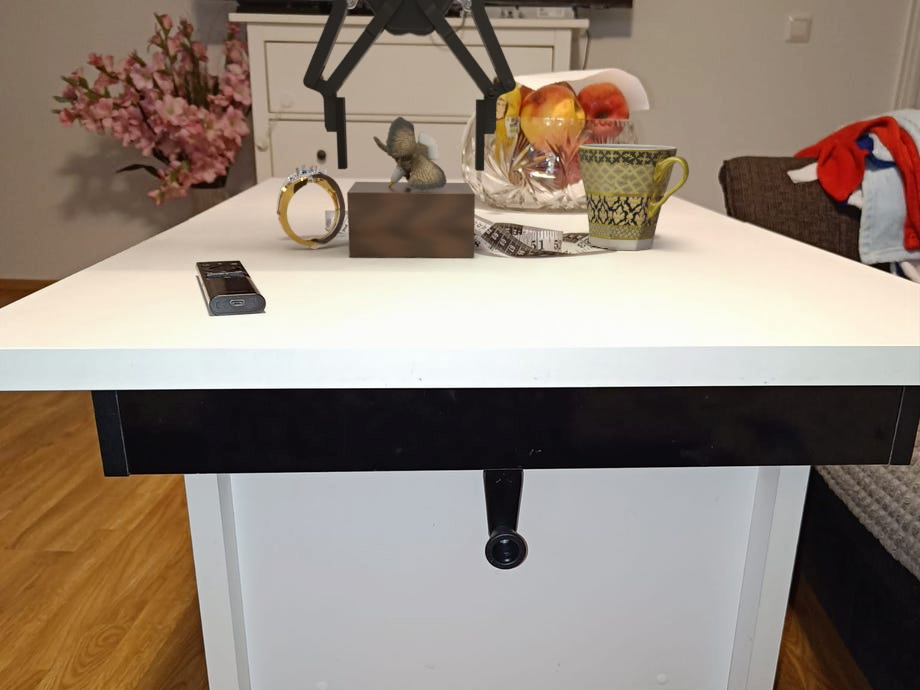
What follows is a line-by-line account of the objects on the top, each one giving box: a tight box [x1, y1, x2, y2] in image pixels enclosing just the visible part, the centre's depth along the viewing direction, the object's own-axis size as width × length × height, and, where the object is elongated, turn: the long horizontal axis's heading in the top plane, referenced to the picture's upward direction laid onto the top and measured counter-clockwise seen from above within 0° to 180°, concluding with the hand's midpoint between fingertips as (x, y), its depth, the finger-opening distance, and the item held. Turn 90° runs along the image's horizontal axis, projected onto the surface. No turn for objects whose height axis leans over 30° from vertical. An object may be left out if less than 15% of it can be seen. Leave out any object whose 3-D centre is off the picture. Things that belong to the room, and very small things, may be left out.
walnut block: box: [346, 181, 476, 259], centre depth 94 cm, size 12×12×6 cm
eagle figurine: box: [372, 116, 448, 191], centre depth 92 cm, size 8×7×9 cm
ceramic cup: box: [578, 143, 690, 251], centre depth 96 cm, size 13×10×10 cm
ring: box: [276, 164, 346, 250], centre depth 93 cm, size 7×3×8 cm, turn 119°
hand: (411, 169), depth 92 cm, fingers open, 13 cm apart
